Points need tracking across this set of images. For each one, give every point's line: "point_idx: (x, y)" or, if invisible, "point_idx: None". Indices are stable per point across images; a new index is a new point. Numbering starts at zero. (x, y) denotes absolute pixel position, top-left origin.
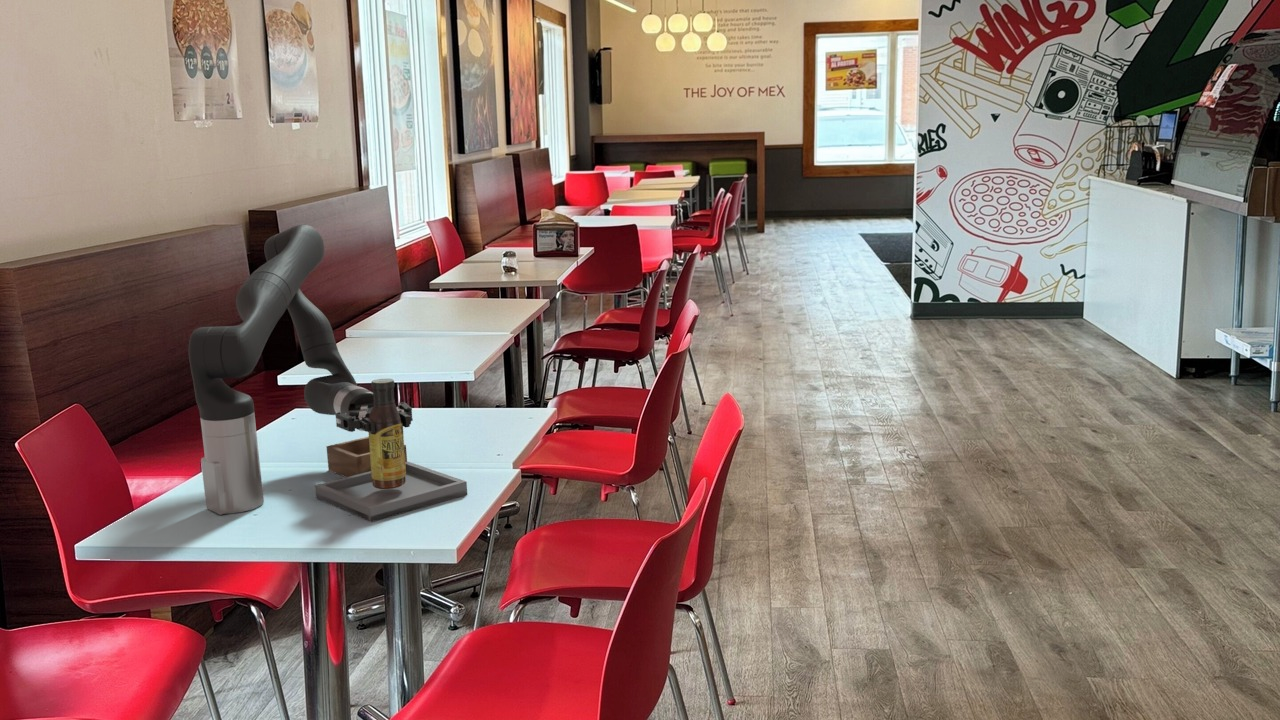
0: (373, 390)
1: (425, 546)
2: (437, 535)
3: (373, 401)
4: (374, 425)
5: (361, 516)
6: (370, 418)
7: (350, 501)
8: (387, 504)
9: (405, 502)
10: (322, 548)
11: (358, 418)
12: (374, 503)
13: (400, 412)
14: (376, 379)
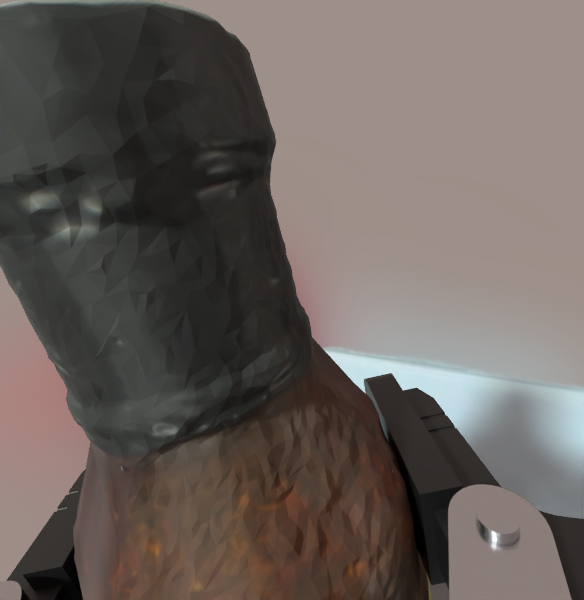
0: (269, 175)
1: (345, 358)
2: None
3: (303, 319)
4: (366, 392)
5: None
6: (382, 441)
7: None
8: None
9: None
10: (520, 380)
11: (539, 521)
12: (436, 584)
13: (53, 550)
14: (71, 7)
